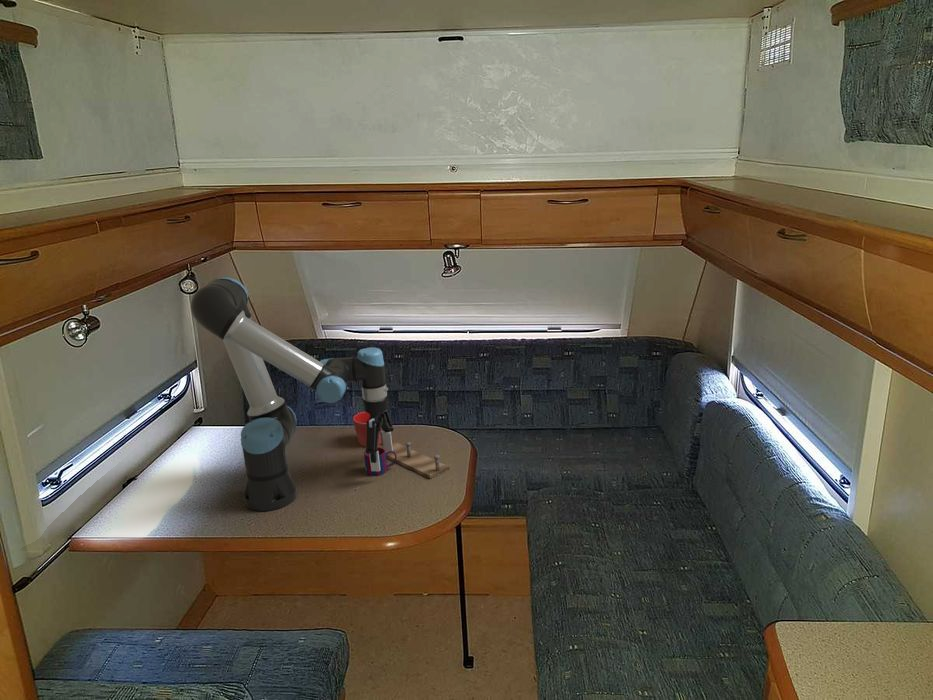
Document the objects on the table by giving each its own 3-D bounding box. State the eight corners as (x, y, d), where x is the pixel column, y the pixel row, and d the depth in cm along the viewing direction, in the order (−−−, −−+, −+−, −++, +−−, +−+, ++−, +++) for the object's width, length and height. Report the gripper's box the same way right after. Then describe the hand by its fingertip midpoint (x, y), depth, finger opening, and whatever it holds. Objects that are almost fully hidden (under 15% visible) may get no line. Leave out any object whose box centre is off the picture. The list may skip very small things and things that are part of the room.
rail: (372, 450, 229) (370, 434, 227) (390, 443, 234) (389, 427, 232) (430, 479, 208) (429, 461, 206) (449, 470, 213) (448, 452, 211)
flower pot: (392, 438, 238) (389, 412, 235) (375, 451, 229) (373, 424, 226) (366, 434, 242) (363, 408, 239) (349, 446, 233) (346, 420, 230)
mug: (366, 467, 218) (364, 447, 216) (397, 464, 218) (396, 445, 216) (365, 476, 211) (363, 457, 209) (397, 474, 212) (395, 454, 210)
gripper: (374, 414, 195) (382, 480, 201) (398, 383, 218) (404, 443, 225) (349, 413, 196) (358, 479, 203) (375, 383, 220) (382, 443, 226)
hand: (382, 460), depth 214 cm, fingers open, 13 cm apart
